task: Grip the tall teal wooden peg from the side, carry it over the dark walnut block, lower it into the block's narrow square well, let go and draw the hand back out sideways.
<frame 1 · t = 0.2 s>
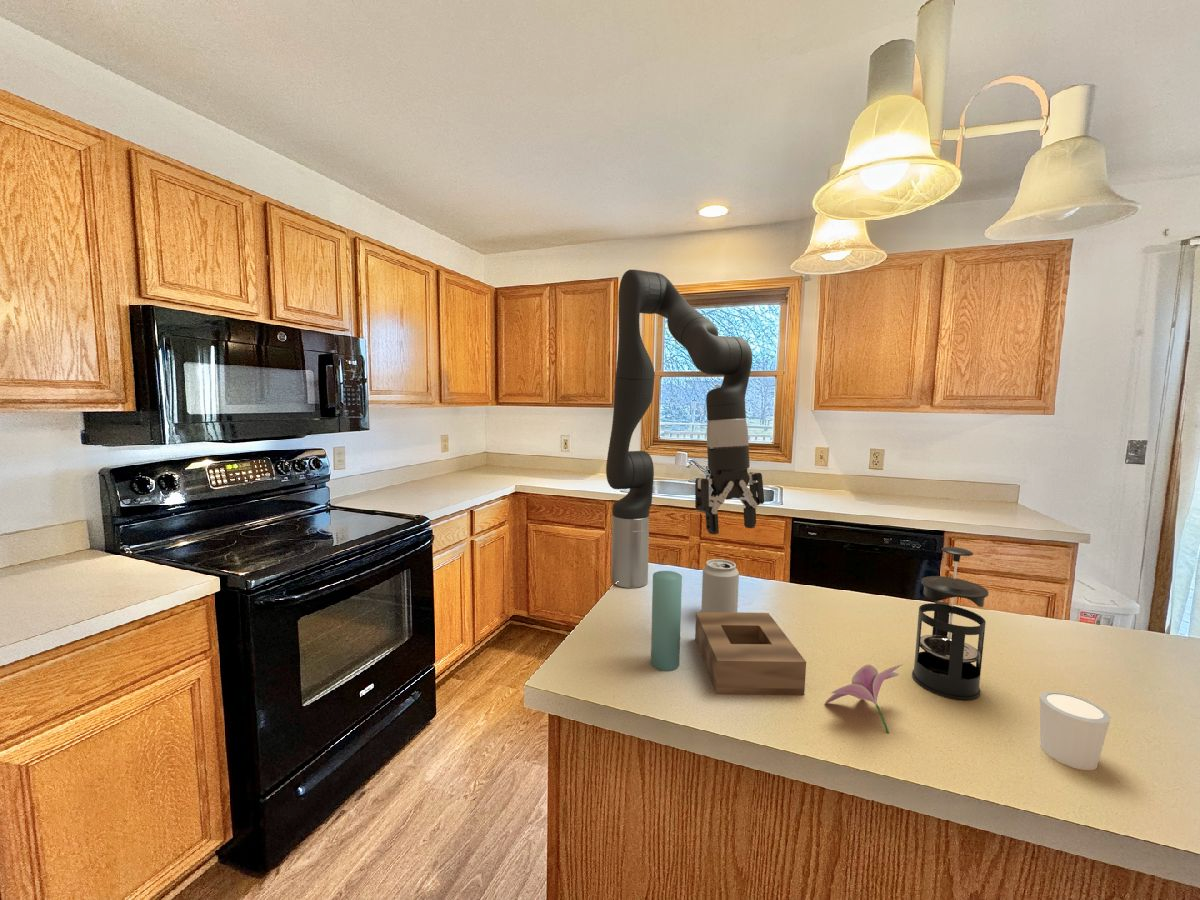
hand: (731, 530, 94), 22 cm above the worktop, tool pointing down, fingers open, 8 cm apart
well block: (744, 664, 89), on the worktop
peg: (665, 663, 89), on the worktop
french press: (944, 683, 84), on the worktop
white cylinder: (1068, 756, 67), on the worktop
lily: (864, 716, 75), on the worktop
can: (718, 618, 108), on the worktop
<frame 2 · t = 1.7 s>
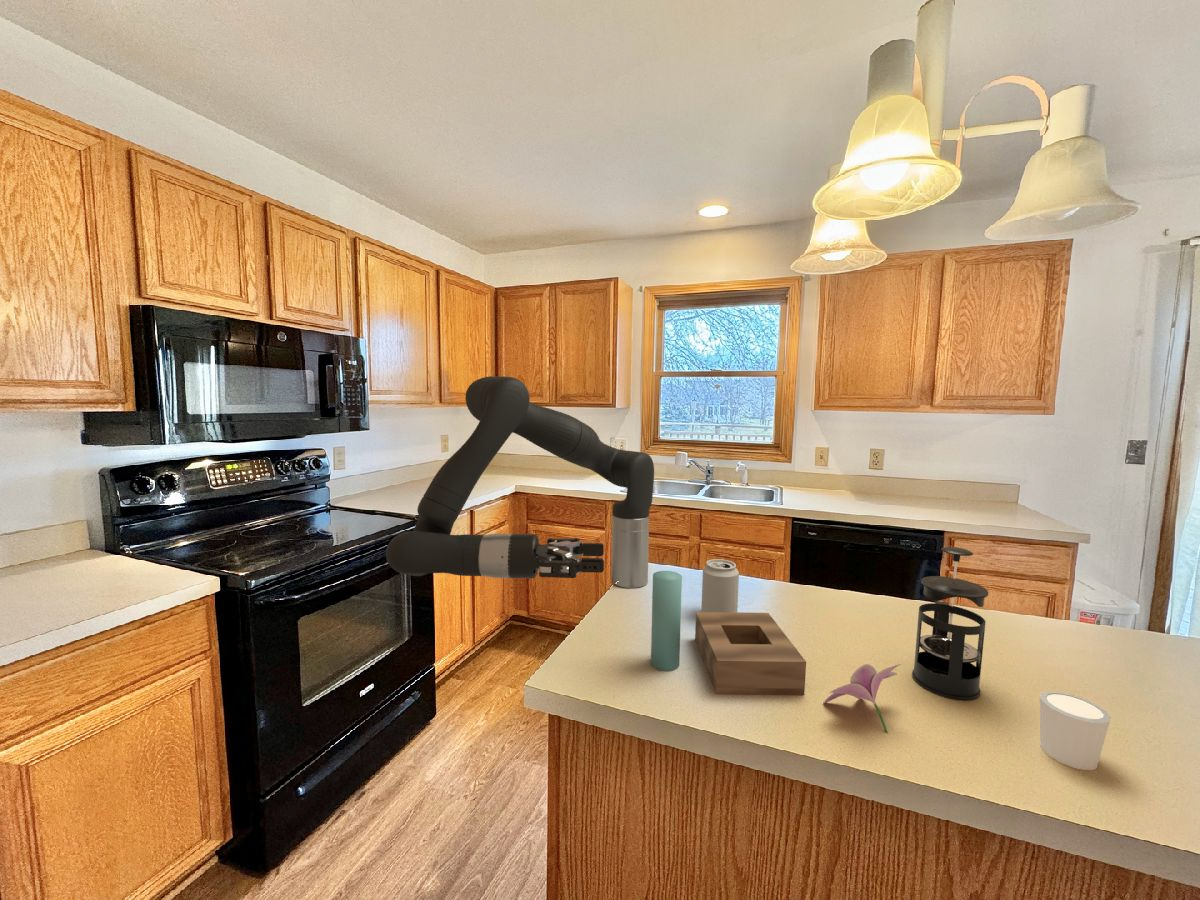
hand: (603, 557, 87), 19 cm above the worktop, tool horizontal, fingers open, 8 cm apart
nothing on the worktop moved.
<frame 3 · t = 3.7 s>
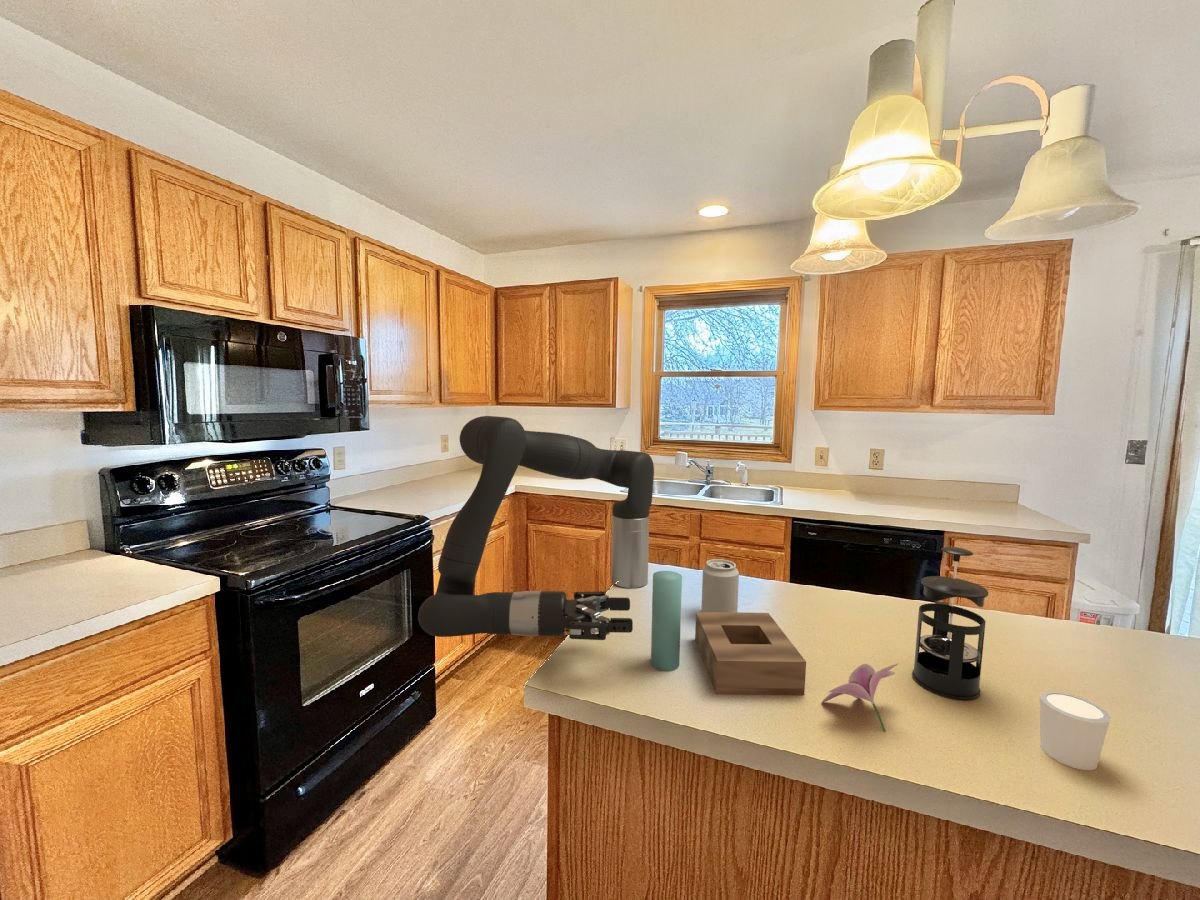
hand: (631, 614, 88), 9 cm above the worktop, tool horizontal, fingers open, 8 cm apart
nothing on the worktop moved.
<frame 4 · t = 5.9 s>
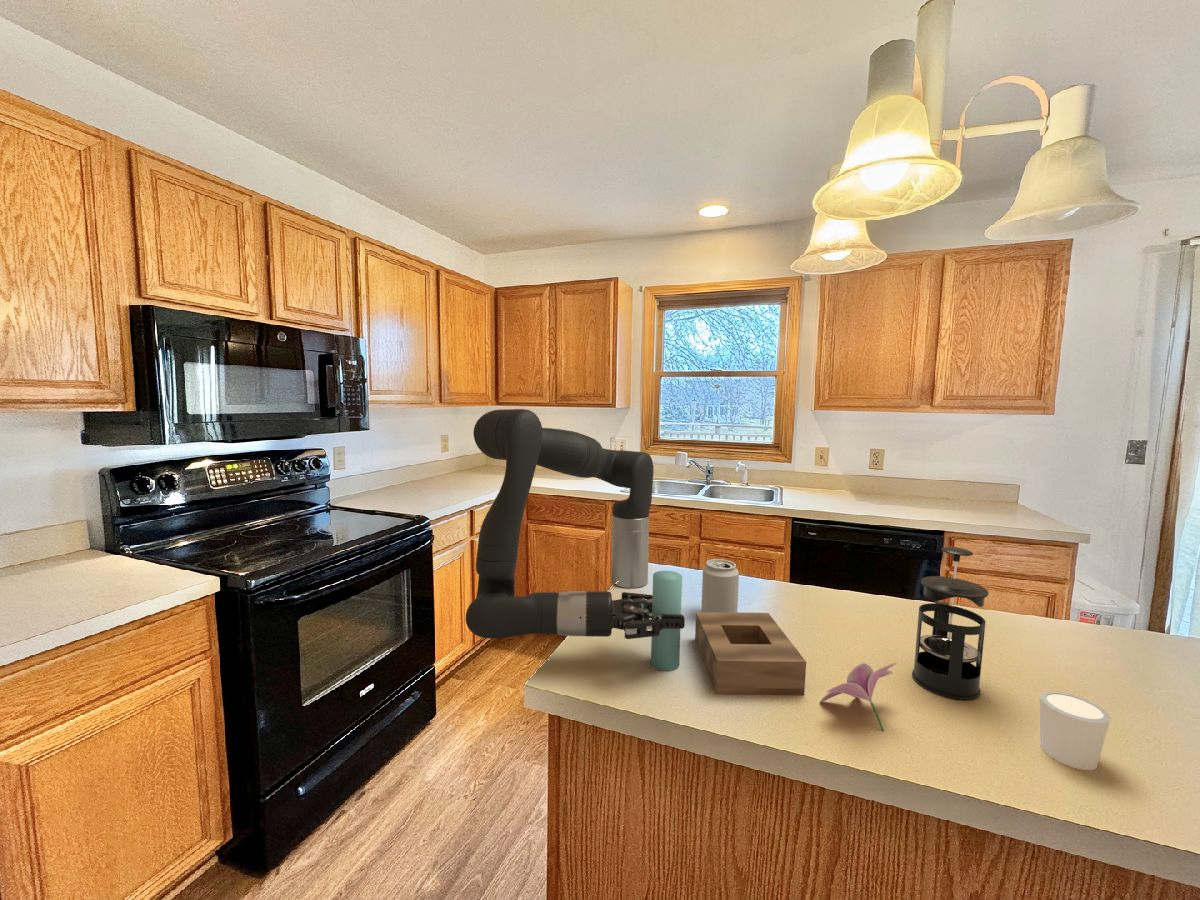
hand: (681, 614, 88), 9 cm above the worktop, tool horizontal, fingers closed on peg, 5 cm apart
peg: (665, 663, 89), on the worktop, touching gripper
everything else where it was.
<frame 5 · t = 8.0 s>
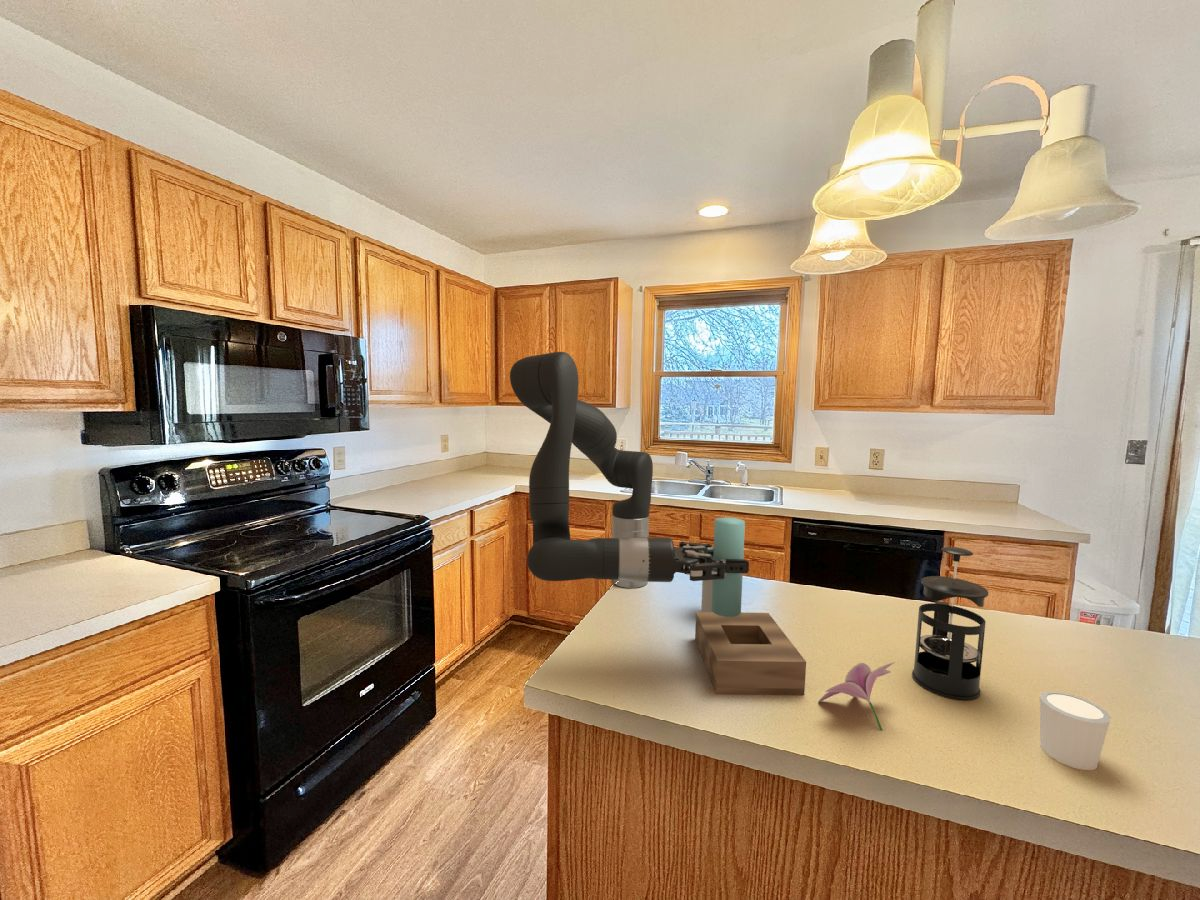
hand: (743, 560, 87), 19 cm above the worktop, tool horizontal, fingers closed on peg, 5 cm apart
peg: (725, 610, 88), point 10 cm above the worktop, touching gripper
everything else where it was.
when the fingers open (11 cm above the worktop, at t = 10.6 s): peg drops 1 cm, resting on well block.
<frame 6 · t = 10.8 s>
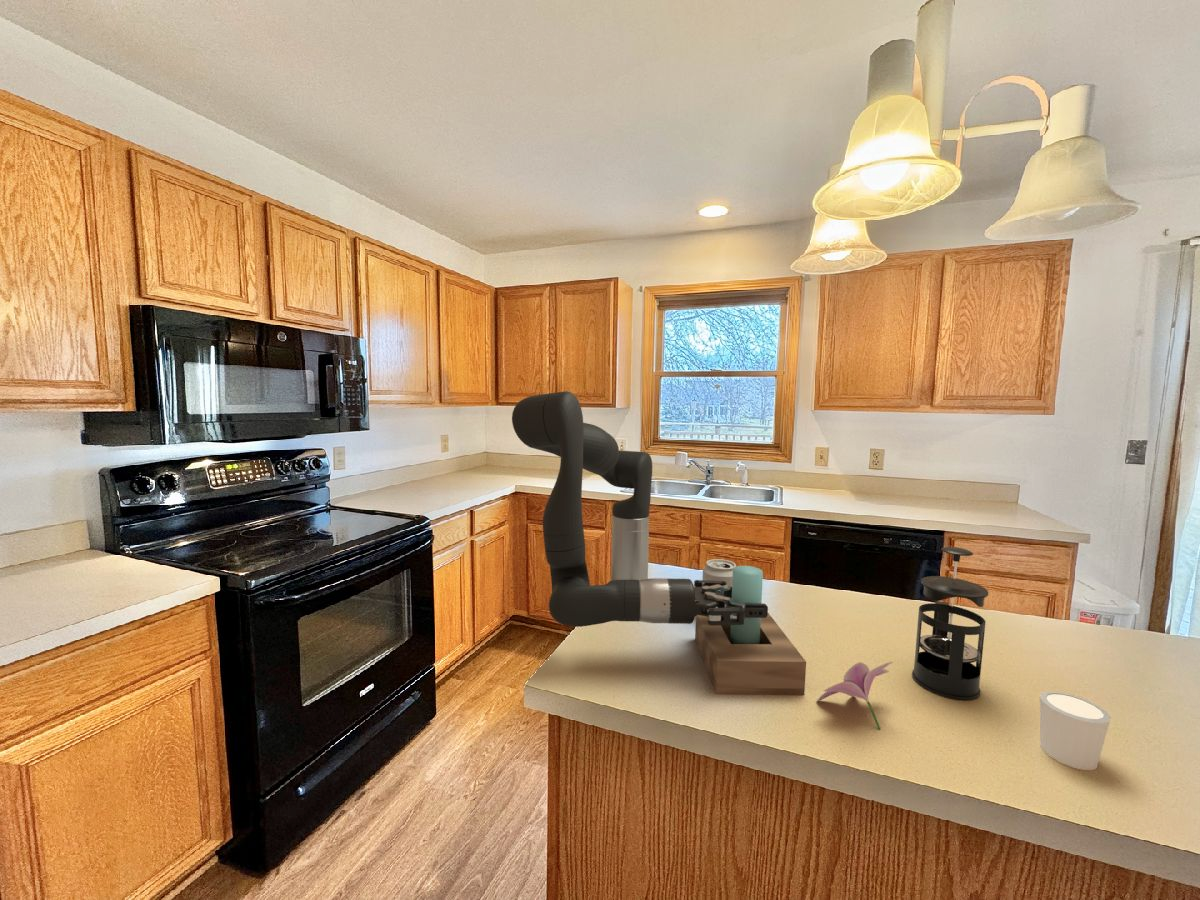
hand: (759, 601, 88), 11 cm above the worktop, tool horizontal, fingers open, 6 cm apart
peg: (744, 658, 89), point 1 cm above the worktop, touching well block
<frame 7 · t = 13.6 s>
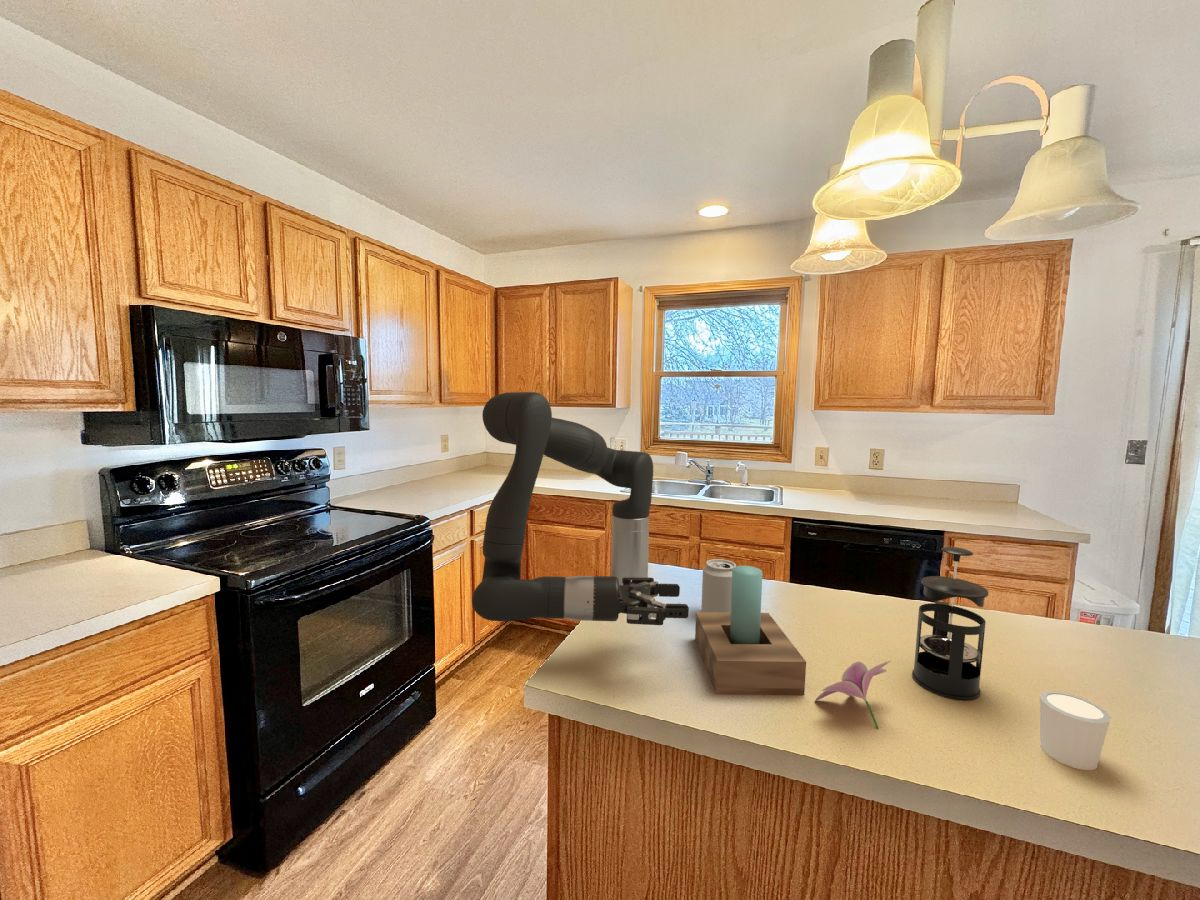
hand: (683, 600, 88), 11 cm above the worktop, tool horizontal, fingers open, 8 cm apart
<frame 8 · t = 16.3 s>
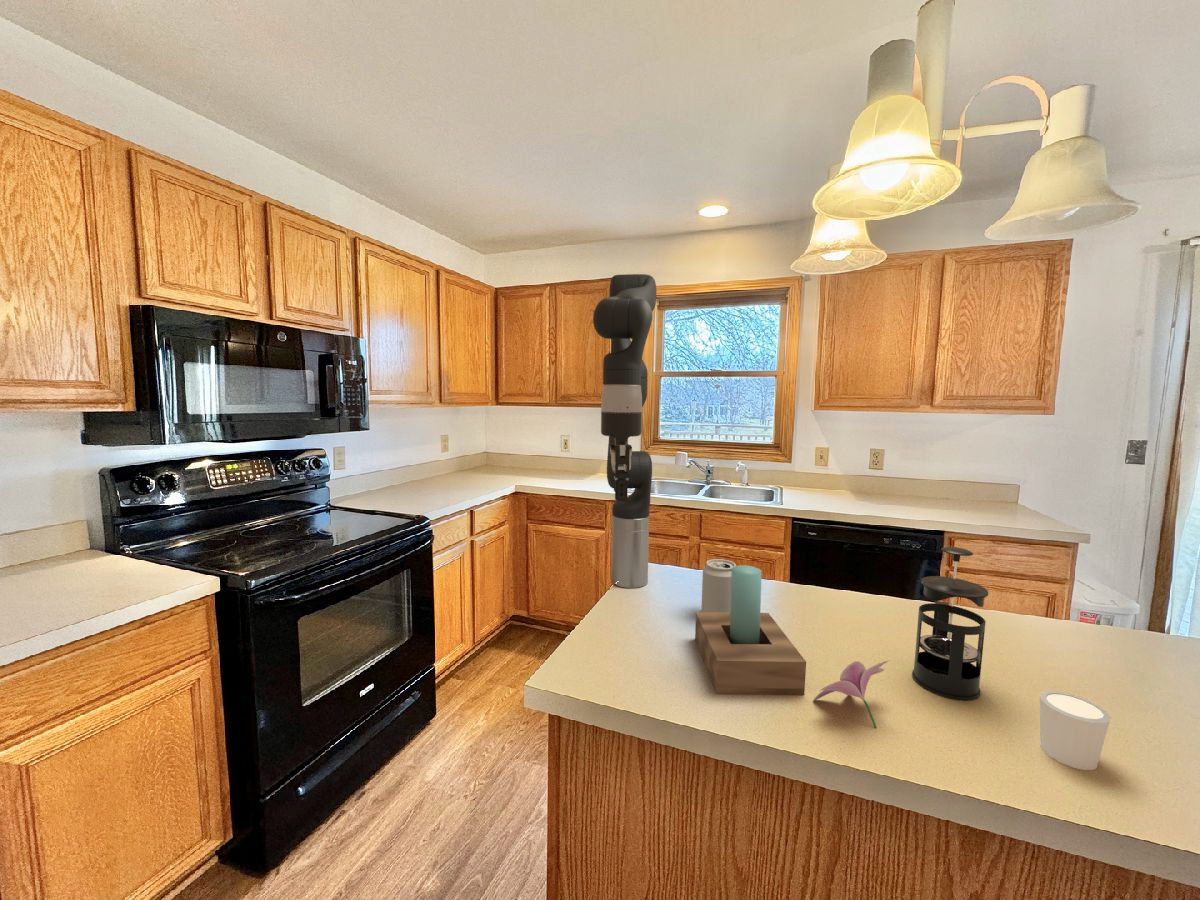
hand: (620, 496, 95), 28 cm above the worktop, tool pointing down, fingers open, 8 cm apart
at the end: peg 0.1 cm off-centre on the well block, point 1.1 cm above the well block's base; peg tilted 1°; the gripper is holding nothing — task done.
